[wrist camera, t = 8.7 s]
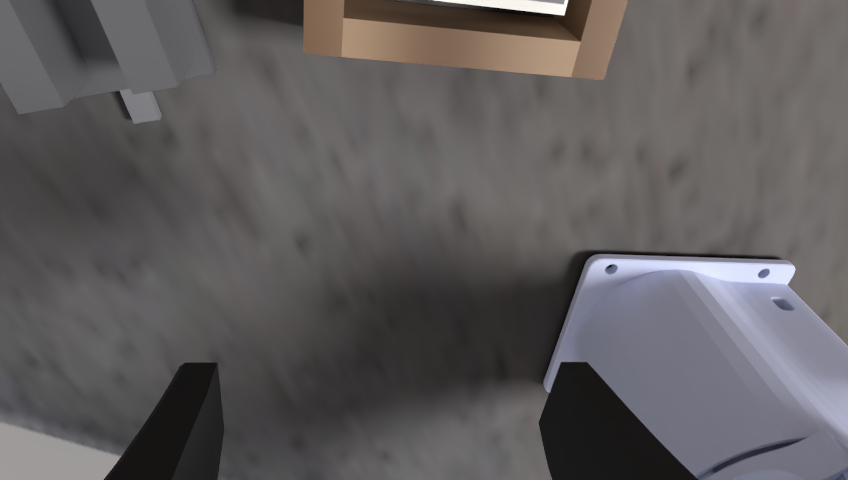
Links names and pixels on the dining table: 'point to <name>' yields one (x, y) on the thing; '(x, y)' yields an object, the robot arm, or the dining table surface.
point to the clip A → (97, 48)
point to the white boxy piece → (521, 5)
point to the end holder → (467, 35)
